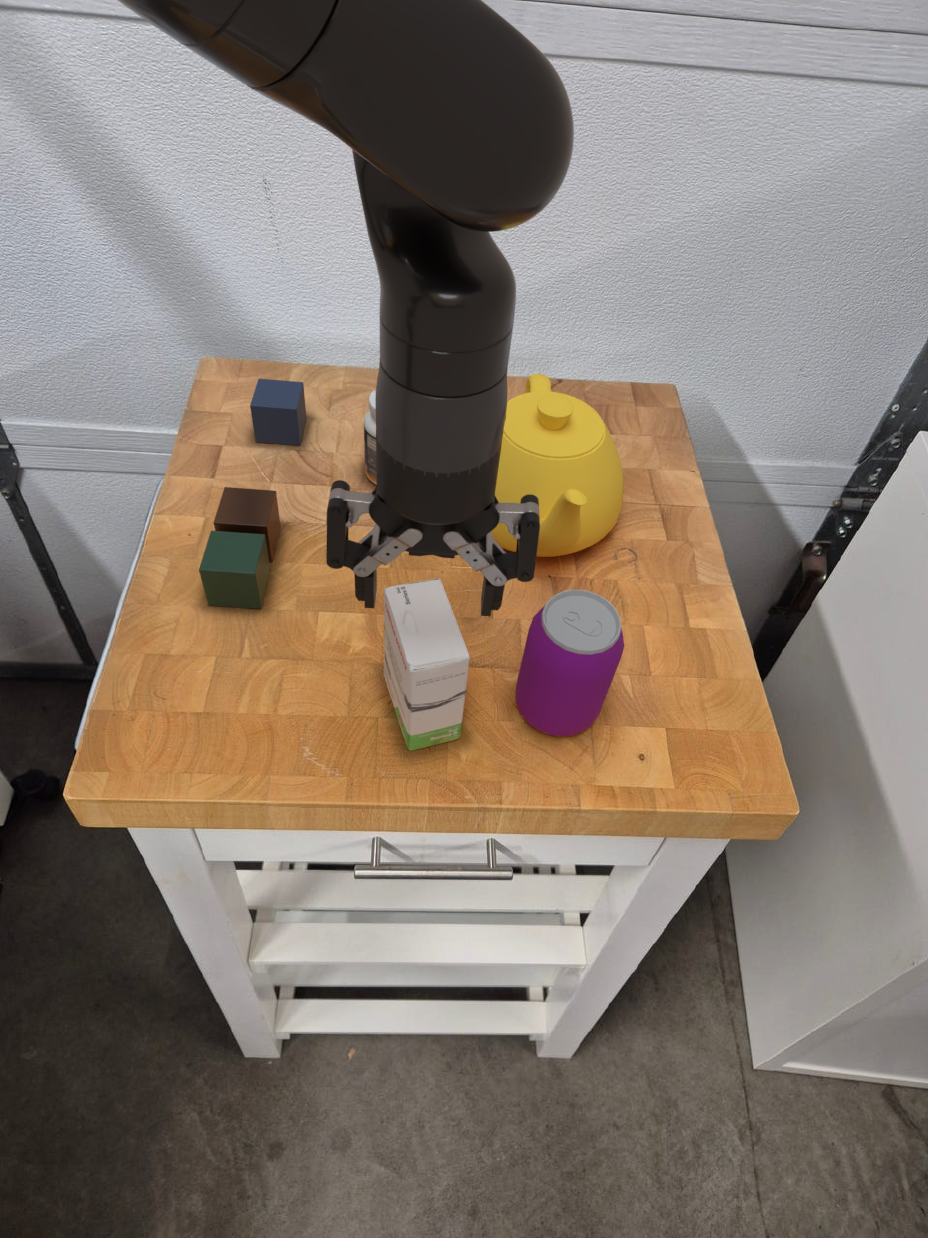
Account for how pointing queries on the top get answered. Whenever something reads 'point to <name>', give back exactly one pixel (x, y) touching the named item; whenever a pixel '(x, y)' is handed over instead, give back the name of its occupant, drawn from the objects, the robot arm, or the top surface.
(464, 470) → the robot arm
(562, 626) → the beverage can
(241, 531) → the walnut block
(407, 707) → the ink box
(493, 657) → the top surface
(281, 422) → the slate block
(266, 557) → the green block
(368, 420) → the pill bottle
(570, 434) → the teapot
